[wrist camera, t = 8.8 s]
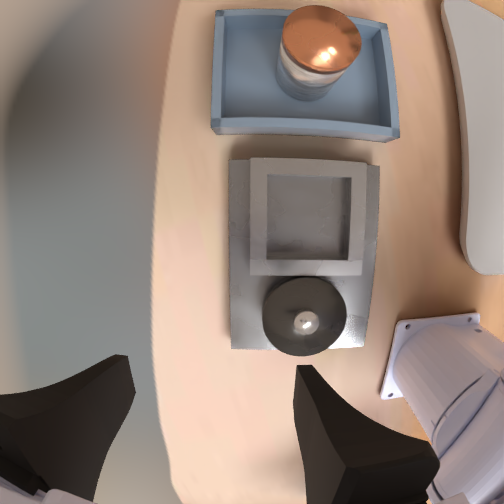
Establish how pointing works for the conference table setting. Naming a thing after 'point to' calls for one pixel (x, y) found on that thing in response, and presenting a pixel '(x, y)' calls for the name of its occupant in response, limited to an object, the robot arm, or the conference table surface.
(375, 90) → the parts tray
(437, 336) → the robot arm
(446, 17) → the tablet
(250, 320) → the base
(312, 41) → the copper lid glass jar
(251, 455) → the conference table surface
